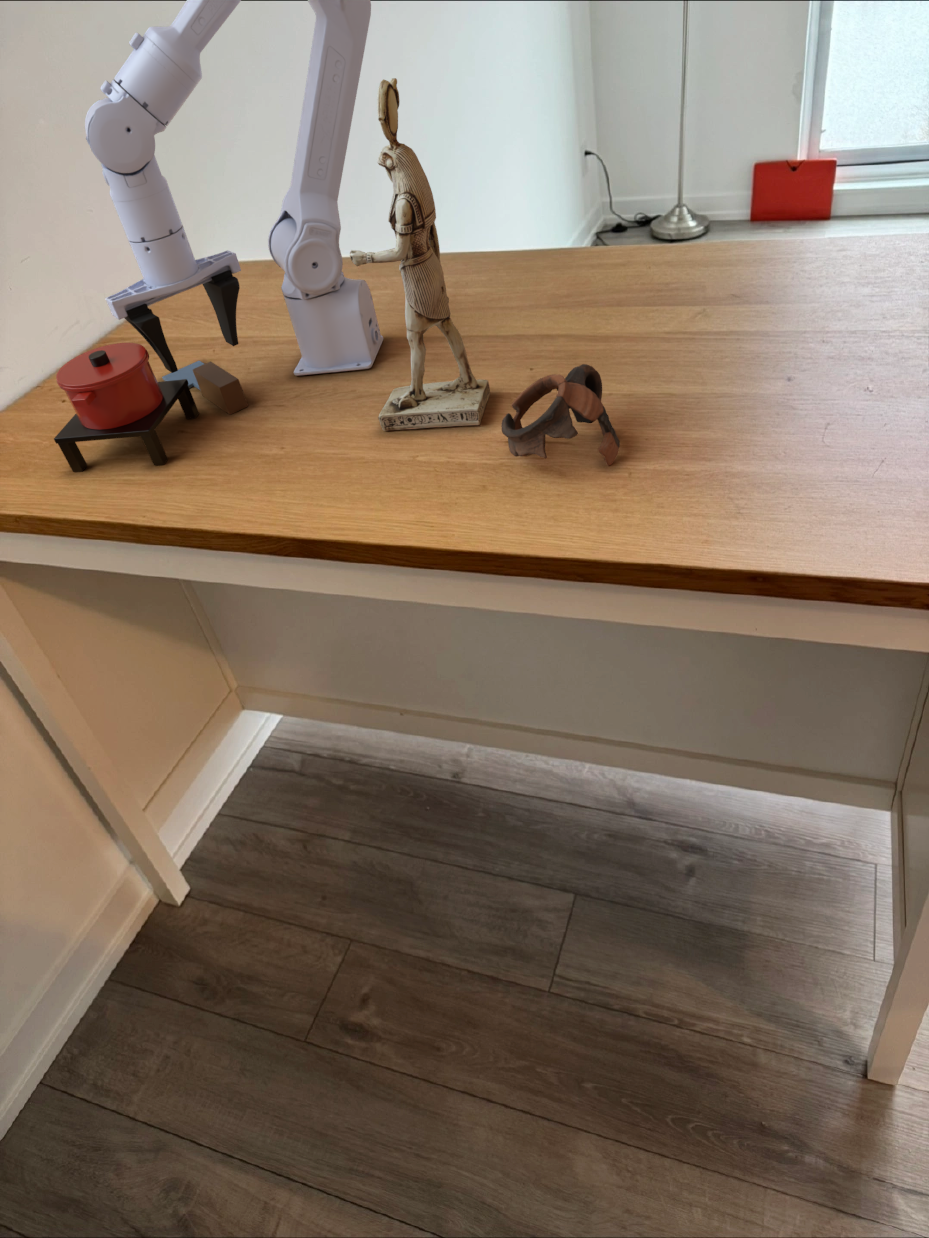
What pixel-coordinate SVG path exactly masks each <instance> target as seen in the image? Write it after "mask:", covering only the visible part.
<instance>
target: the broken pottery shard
mask: <svg viewBox="0 0 929 1238" xmlns="http://www.w3.org/2000/svg"><path fill="white" fill-rule="evenodd" d="M554 390H556V391H557V394H556V397H555V398H554V400H553V401H552V403H551V404H550V406H549V407H548V408H547V409H546V411H544V412H543V413H542V414H541V415H540V416H539V417H538V418H537V419H536V420H534V421H533V422H531V423H529V424H528V425H526V426H524V427H523V425H522V421H521V419H523V417H524V415H525V414H526V413H527V412H528V410H530V408H531V407H532V406H533V405H534V404H535V403H537V402H538V401H539V400H541V399H542V398H543V397H544V396H547V395H548V394H550V393H552V391H554ZM602 398H603V381H602V377H601V374H600V373H599V372H598V370H596V369H595V367H593V366H592V365H589V364H587V363H583V364H580V365H578V366H575V367H573V368H572V369H571V370H570V371H569V372H568V374H566V377H564V376H563V375H561V374H557V373H555V374H549V375H546V376H543V377H540V378H538V379H537V380H536V381H534V382H533V383H531V384H530V385H529V386H527V387H526V388H525V389H524V390H523V391H521V392H520V393H519V394H518V396H517V397H516V398H515V399H514V400H513V402H511V407H512V408H513V410H514V411H515V412H516V413H515V415H514V416H513V415H512V414H511V413H510V412H508V413H506V414H505V416H504V417H503V418H502V420H501V426H500V427H501V433H502V434H503V435H504V436H505V437H506V438H507V445H508V449H509V452H510V454H512V455H513V457H528V456H531V455H536V456H537V457H539V458H543V459H547V458H548V456H547V453H546V435H547V436H549V437H550V438H553V439H566V440H569V439H573V438H575V437H577V436H578V435H579V431H578V430H577V429H576V427H575V426H574V425H573V424H574V423H573V418H572V416H571V412H572V414H573V416H574V418H575V421H576V423H586V424H593V423H595V422H596V421H597V422H598V425H599V427H600V431H601V435H602V436H603V439H602V441H601V443H600V445H599V446H598V448H597V449H598V451H597V452H599V454H600V455H601V456H603V459H604V462H605V464H606V465H607V466H611V465H613V463H614V462H615V461H616V459H617V456H618V454H619V451H620V447H621V444H620V442H621V441H620V439H619V437H618V434H617V432H616V430H615V428H614V426H613V425H612V422H611V420H610V417H609V414H608V413H607V410H606V407H605V406H604V404H603V402H602ZM570 410H571V412H570Z"/></svg>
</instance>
